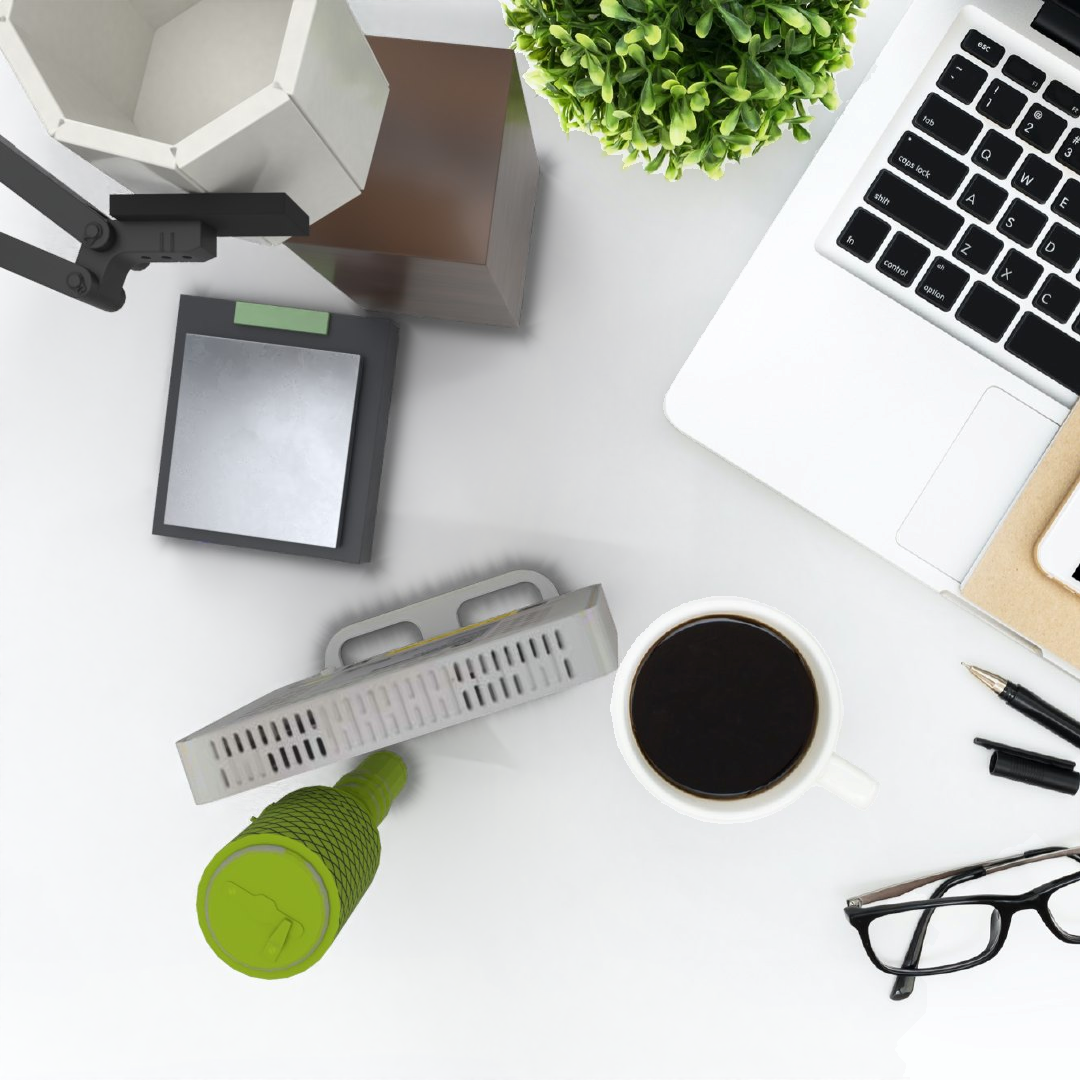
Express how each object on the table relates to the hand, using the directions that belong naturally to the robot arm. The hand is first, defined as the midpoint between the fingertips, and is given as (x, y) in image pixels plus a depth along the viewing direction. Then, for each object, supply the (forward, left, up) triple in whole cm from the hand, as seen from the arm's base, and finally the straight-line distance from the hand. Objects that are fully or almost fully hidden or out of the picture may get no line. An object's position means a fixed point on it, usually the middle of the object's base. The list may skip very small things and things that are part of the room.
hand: (299, 44), depth 34 cm
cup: (0, -4, -5) cm, 7 cm away
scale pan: (+14, -12, -33) cm, 38 cm away
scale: (+13, -12, -36) cm, 40 cm away
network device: (+28, +3, -36) cm, 46 cm away
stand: (-3, -1, -36) cm, 36 cm away
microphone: (+38, -1, -36) cm, 52 cm away
